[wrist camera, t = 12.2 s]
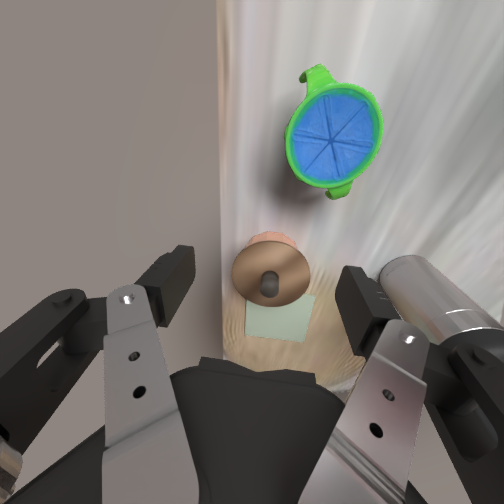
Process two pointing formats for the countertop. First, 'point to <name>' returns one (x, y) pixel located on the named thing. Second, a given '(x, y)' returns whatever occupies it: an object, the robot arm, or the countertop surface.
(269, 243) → the lid
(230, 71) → the countertop surface
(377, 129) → the snack cup
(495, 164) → the countertop surface
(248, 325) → the mat
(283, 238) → the bowl
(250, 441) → the robot arm
